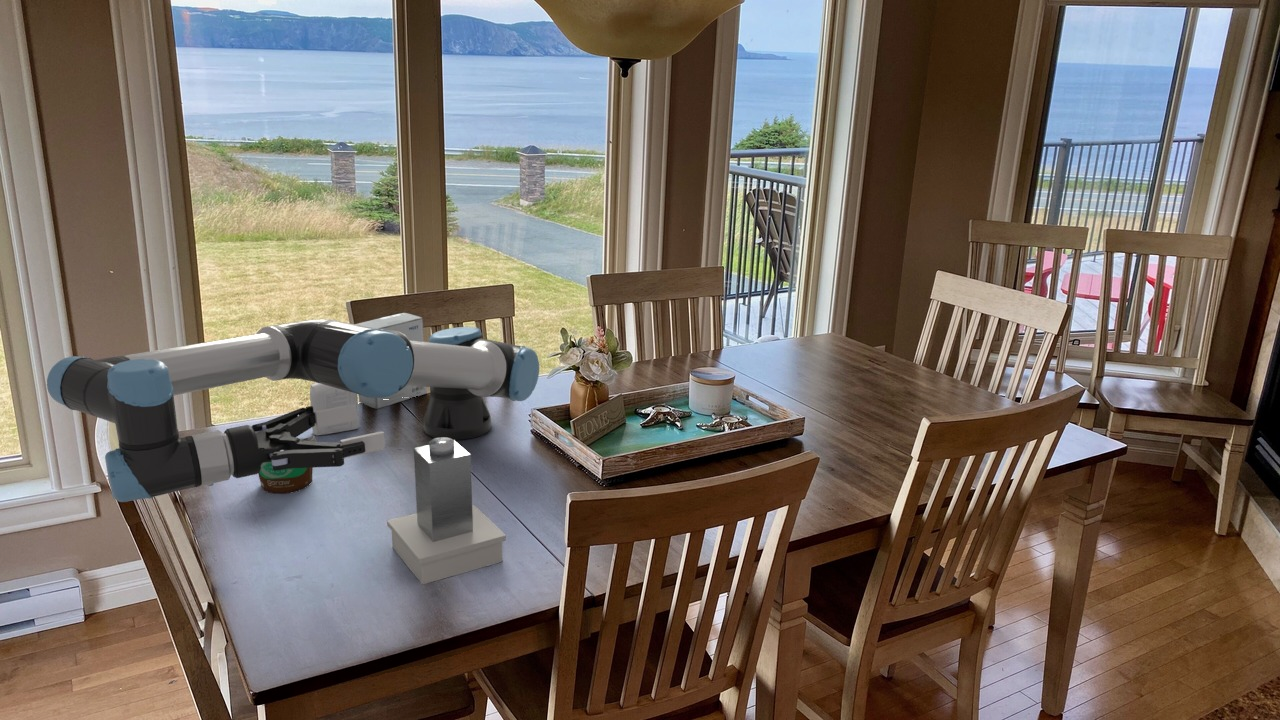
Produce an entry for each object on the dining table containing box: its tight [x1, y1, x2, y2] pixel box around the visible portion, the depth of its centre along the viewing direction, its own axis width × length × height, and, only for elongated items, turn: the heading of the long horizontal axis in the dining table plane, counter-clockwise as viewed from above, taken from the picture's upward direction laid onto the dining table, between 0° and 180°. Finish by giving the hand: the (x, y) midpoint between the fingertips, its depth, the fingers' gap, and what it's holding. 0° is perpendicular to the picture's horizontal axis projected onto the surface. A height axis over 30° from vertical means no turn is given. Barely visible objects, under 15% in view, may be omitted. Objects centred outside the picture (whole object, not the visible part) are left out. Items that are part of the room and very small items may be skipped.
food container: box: [257, 433, 318, 495], centre depth 175 cm, size 12×6×10 cm, turn 105°
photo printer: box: [309, 382, 360, 436], centre depth 204 cm, size 10×4×12 cm, turn 123°
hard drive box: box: [354, 312, 428, 410], centre depth 223 cm, size 16×8×20 cm, turn 141°
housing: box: [413, 437, 473, 542], centre depth 151 cm, size 7×7×16 cm
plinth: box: [386, 502, 507, 585], centre depth 154 cm, size 15×15×5 cm
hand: (369, 425), depth 146 cm, fingers open, 13 cm apart
